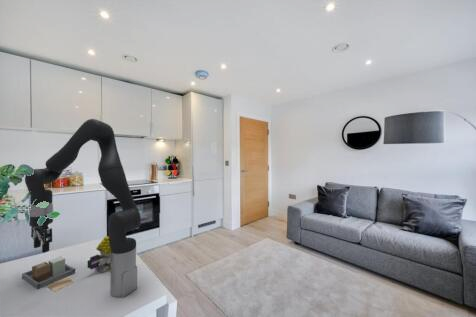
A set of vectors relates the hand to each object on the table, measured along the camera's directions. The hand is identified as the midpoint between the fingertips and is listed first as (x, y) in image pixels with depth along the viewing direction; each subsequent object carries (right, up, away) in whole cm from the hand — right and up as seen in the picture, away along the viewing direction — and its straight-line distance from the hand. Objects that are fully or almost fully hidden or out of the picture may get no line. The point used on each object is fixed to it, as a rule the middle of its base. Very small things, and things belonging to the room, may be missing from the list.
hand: (41, 249), depth 88 cm
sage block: (+2, -13, +5) cm, 14 cm away
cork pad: (+12, -14, -3) cm, 18 cm away
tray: (+1, -14, +2) cm, 14 cm away
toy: (+22, -14, +8) cm, 27 cm away
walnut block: (0, -13, 0) cm, 13 cm away
